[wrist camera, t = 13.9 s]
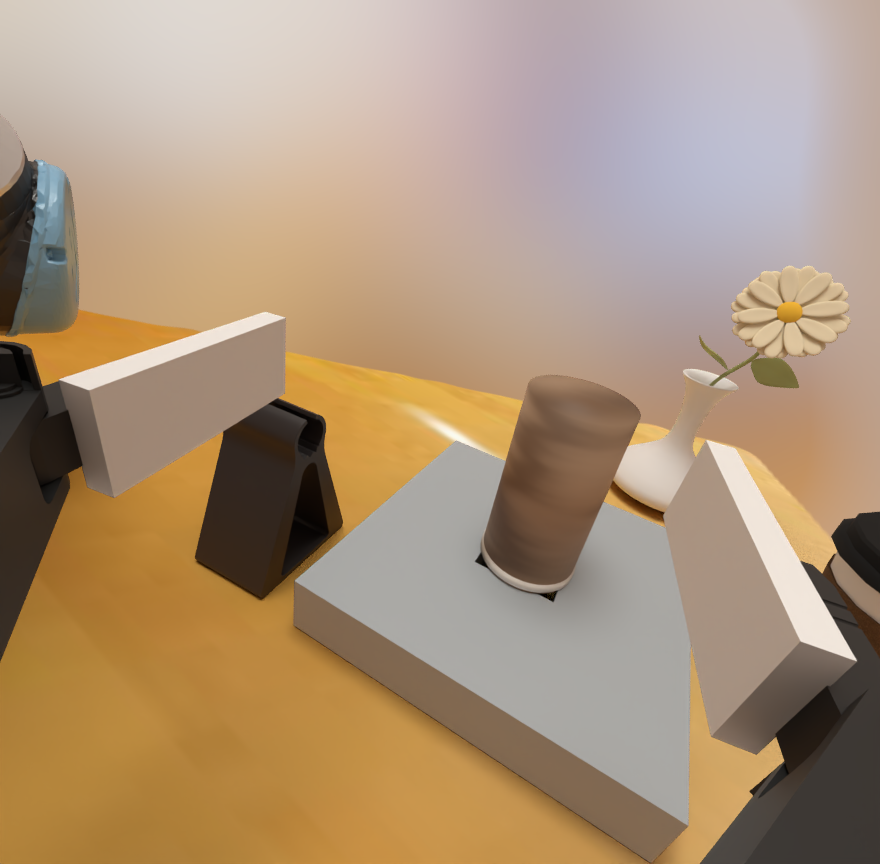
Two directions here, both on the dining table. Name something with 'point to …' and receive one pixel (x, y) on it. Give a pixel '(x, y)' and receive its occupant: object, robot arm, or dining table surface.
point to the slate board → (522, 646)
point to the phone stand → (269, 498)
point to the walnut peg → (555, 480)
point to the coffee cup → (859, 571)
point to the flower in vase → (761, 326)
